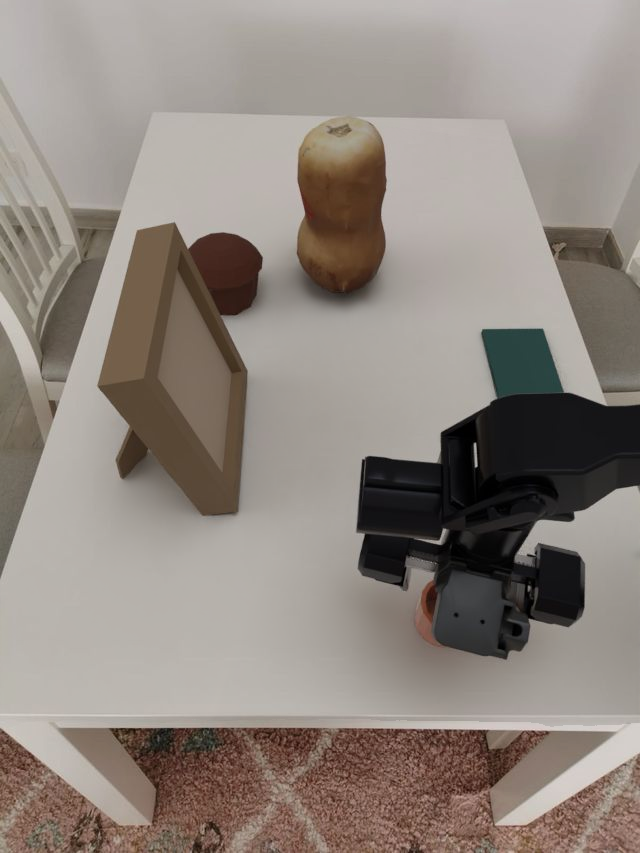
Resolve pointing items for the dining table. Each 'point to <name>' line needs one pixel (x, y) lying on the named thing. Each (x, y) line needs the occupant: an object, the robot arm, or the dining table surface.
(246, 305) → the muffin
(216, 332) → the photo frame
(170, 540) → the dining table surface
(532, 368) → the mat
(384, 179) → the butternut squash
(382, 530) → the robot arm
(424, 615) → the pencil cup
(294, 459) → the dining table surface
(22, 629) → the dining table surface
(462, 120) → the dining table surface
